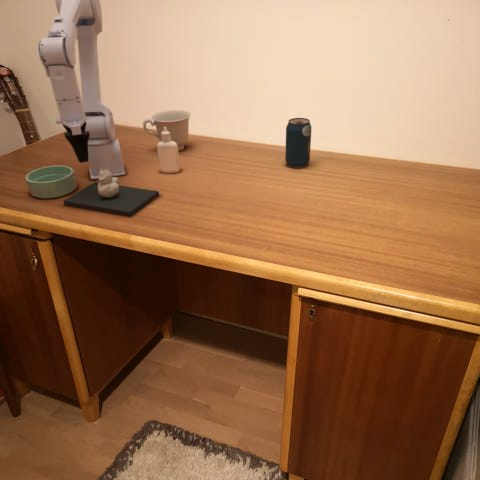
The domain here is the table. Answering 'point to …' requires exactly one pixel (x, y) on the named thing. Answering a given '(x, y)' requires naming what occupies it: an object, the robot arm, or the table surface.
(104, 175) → the rubber duck
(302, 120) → the soda can
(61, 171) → the bowl
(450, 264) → the table surface
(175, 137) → the teacup
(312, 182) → the table surface
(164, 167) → the eye dropper bottle
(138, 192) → the desk pad
